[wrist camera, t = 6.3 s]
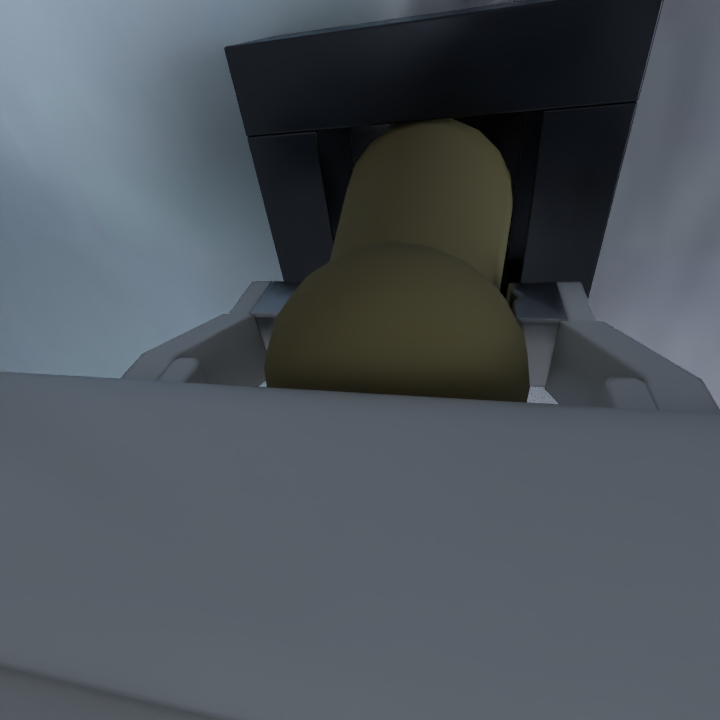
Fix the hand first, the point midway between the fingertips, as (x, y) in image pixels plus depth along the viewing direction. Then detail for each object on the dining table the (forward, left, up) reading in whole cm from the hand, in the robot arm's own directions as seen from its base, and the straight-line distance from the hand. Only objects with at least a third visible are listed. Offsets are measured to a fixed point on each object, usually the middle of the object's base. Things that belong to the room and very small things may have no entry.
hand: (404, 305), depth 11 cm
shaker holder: (+1, 0, -10) cm, 10 cm away
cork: (0, 0, -7) cm, 7 cm away
